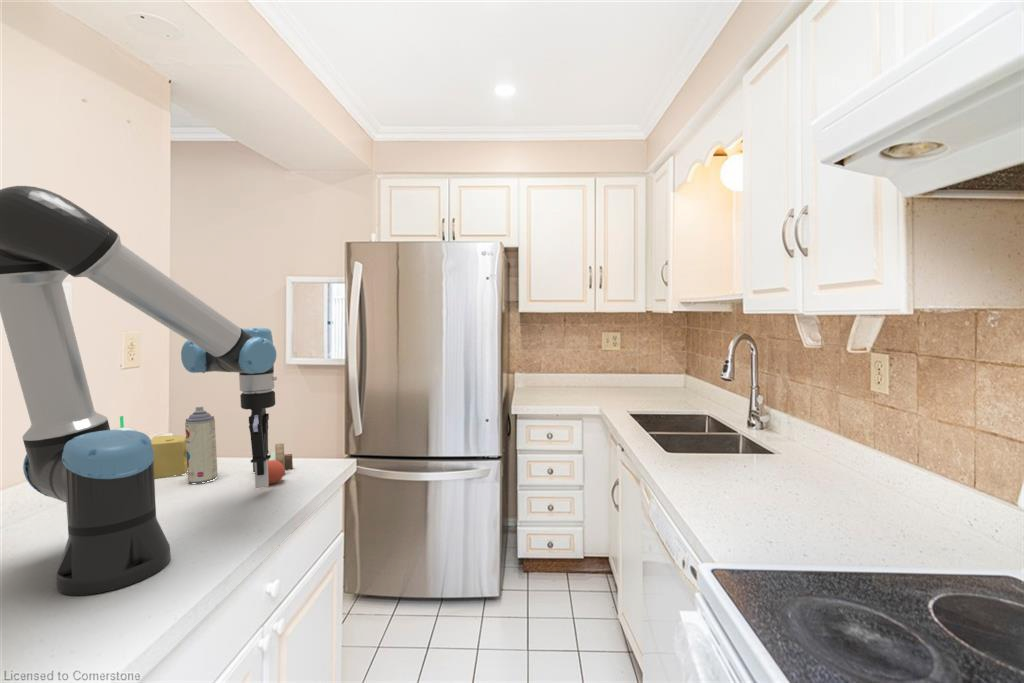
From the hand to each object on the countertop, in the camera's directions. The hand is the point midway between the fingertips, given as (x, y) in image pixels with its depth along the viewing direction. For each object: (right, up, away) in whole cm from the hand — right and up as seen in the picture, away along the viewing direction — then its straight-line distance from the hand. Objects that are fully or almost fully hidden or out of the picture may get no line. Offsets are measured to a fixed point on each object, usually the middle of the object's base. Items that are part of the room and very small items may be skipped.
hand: (262, 486), depth 121 cm
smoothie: (-34, -3, +1) cm, 34 cm away
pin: (-3, -1, +16) cm, 16 cm away
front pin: (-4, -1, +12) cm, 13 cm away
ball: (-2, +1, +8) cm, 9 cm away
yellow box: (-37, -2, +20) cm, 42 cm away
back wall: (-7, -1, +20) cm, 21 cm away
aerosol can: (-22, -2, +12) cm, 26 cm away
